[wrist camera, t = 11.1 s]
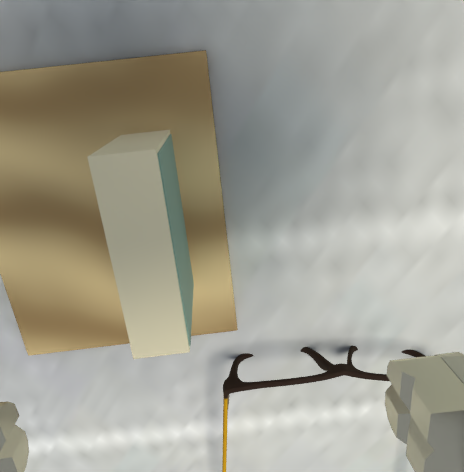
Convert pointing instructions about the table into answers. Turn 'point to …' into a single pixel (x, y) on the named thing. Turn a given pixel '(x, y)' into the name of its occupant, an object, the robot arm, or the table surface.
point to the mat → (84, 197)
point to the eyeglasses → (294, 380)
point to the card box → (146, 240)
